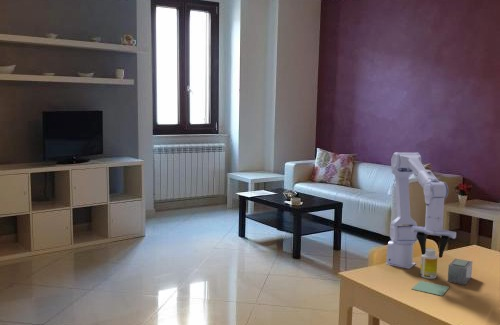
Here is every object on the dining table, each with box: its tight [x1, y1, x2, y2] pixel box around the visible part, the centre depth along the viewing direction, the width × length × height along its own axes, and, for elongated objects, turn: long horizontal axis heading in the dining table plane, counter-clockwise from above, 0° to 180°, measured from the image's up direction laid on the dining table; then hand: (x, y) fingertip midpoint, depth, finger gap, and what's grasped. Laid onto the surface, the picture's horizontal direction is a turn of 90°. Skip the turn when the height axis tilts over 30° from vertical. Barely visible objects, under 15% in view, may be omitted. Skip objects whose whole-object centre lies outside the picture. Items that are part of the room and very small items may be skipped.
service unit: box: [447, 258, 473, 286], centre depth 182 cm, size 6×10×6 cm, turn 146°
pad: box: [411, 280, 450, 297], centre depth 172 cm, size 10×10×1 cm
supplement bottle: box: [419, 247, 438, 280], centre depth 184 cm, size 6×6×10 cm
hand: (432, 255), depth 175 cm, fingers open, 5 cm apart
